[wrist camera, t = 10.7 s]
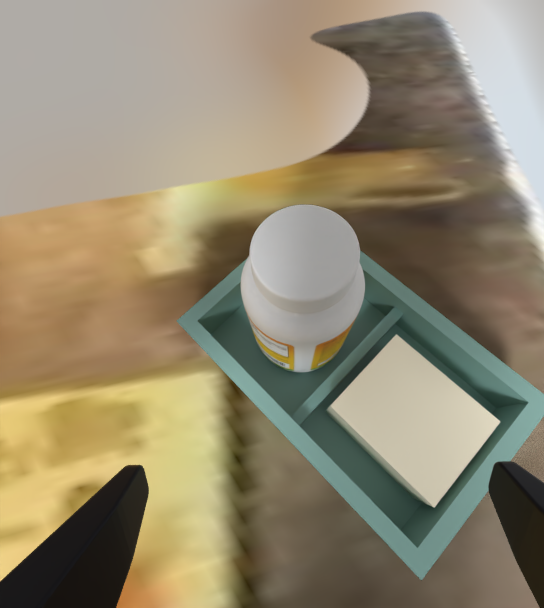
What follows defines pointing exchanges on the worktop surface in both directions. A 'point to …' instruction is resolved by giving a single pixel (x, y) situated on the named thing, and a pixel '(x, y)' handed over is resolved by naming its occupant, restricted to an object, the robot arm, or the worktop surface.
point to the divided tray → (339, 375)
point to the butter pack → (413, 421)
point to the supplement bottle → (302, 286)
